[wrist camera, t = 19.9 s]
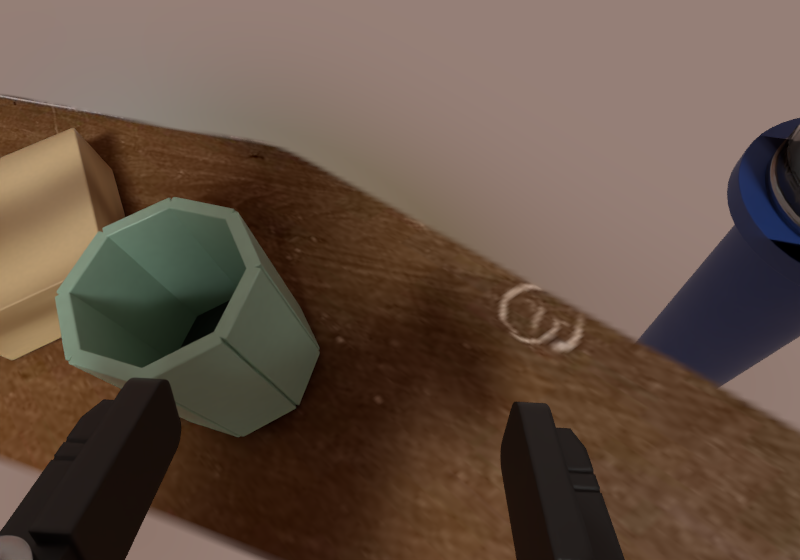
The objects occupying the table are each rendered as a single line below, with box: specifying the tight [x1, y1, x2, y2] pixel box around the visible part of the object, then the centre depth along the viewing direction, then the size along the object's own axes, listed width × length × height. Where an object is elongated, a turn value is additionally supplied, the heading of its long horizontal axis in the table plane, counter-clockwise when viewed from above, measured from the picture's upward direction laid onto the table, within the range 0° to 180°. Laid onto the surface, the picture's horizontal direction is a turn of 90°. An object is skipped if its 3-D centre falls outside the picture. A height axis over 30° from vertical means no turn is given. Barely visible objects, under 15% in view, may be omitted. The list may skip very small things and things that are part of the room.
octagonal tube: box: [55, 197, 320, 437], centre depth 19 cm, size 8×6×6 cm
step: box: [0, 128, 125, 360], centre depth 25 cm, size 10×7×4 cm
